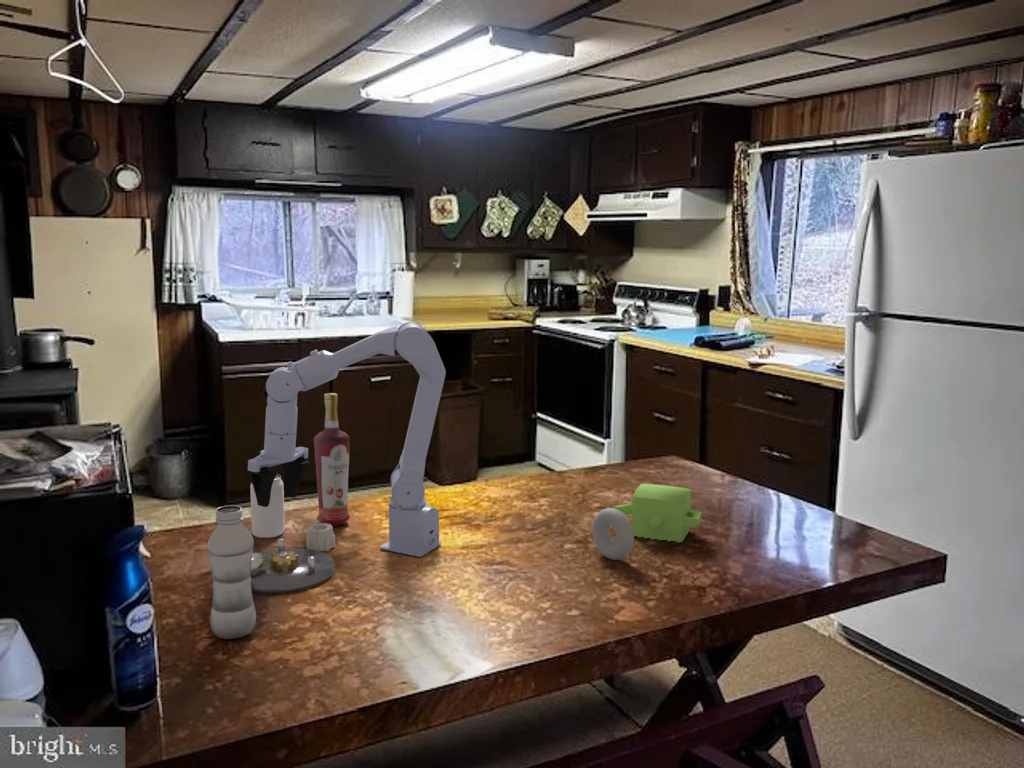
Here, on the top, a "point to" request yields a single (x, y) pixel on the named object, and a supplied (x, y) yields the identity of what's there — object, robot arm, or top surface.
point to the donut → (622, 531)
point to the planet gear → (320, 537)
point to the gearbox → (661, 512)
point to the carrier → (289, 569)
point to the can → (269, 512)
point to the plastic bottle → (231, 575)
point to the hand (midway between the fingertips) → (276, 500)
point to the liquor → (332, 467)
